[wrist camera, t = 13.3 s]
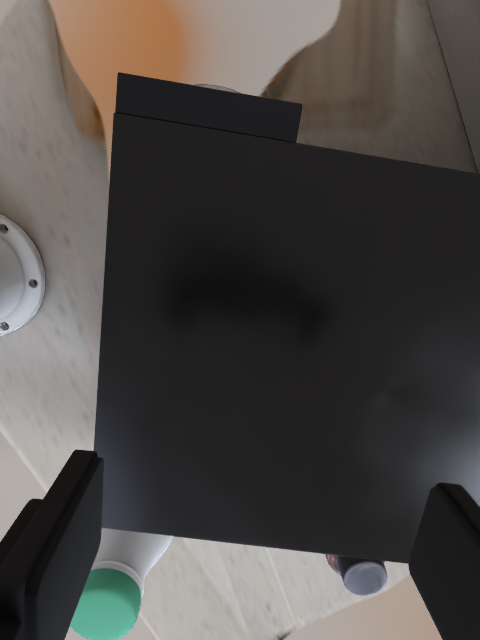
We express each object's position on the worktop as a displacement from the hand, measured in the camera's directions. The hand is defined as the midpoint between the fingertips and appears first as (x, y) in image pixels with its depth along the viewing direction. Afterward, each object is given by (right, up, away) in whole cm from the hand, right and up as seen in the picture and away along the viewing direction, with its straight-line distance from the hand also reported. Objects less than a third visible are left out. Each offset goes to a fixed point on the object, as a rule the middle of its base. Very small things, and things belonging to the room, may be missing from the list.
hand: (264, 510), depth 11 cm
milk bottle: (-10, -8, +33) cm, 35 cm away
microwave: (+7, +8, +28) cm, 30 cm away
